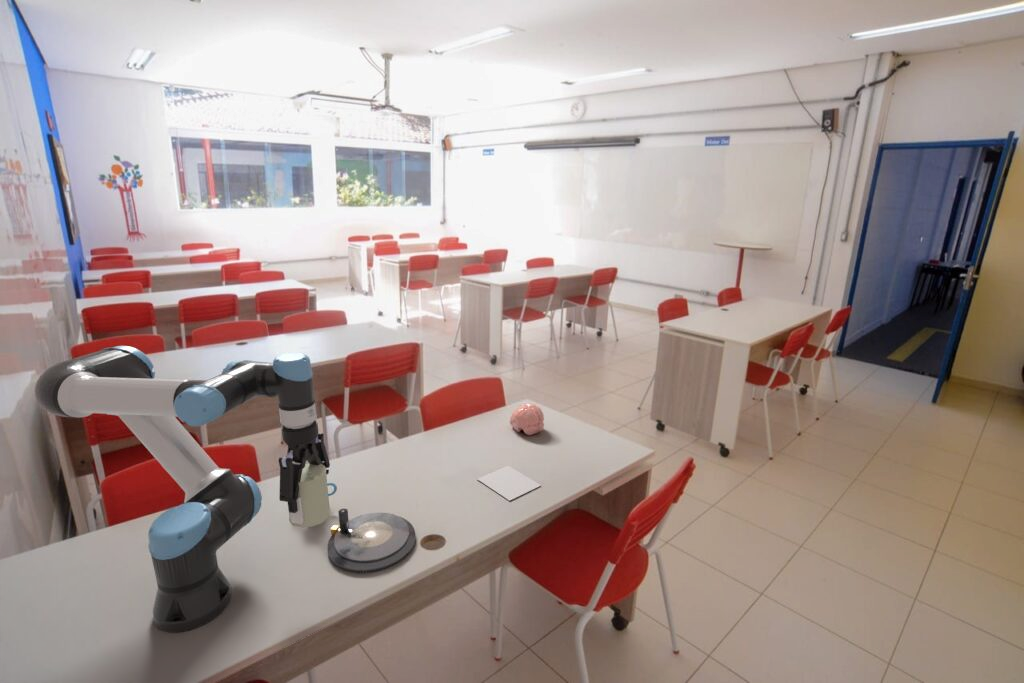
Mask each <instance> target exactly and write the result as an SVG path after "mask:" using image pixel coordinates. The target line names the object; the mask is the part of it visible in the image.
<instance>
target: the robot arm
mask: <svg viewBox="0 0 1024 683" xmlns="http://www.w3.org/2000/svg"><path fill="white" fill-rule="evenodd" d="M153 368H154V364H153V362H152V360H151V359H150V358H149V357H148V355H146V353H144V352H143V351H141V350H139V349H138V348H136V347H133V346H130V345H129V346H128V345H117V346H113V347H105V348H103V349H102V348H101V349H100V350H99V351H95V352H91V353H87V354H85V355H80V356H78V357H74V358H70V359H68V360H64V361H60V362H58V363H55V364H54V365H52V366H50V367H48V368H47V369H46V370H45V371H44V372H43V373H42V374H40V375H39V377H38V378H37V381H36V383H35V387H34V395H35V399H36V401H37V403H38V404H39V406H40V407H41V408H42V409H43V410H44V411H47V413H50V414H52V415H55V416H58V417H65V418H85V417H86V418H87V417H89V416H91V415H93V414H103V415H105V414H106V415H108V416H109V415H111V416H117V417H118V418H119V419H120V420H121V421H122V422H123V424H125V426H126V427H127V428H128V429H129V431H130V432H131V433H132V434H134V436H135V437H136V438H137V439H138V440H139V441H140V443H141V444H142V445H143V446H144V447H145V449H147V451H148V452H149V453H150V454H151V455H152V456H153V458H154V459H156V461H157V462H158V463H159V464H160V465H161V467H162V468H163V469H164V470H165V471H166V472H167V473H168V474H169V475H170V477H171V478H172V479H173V480H174V481H175V482H176V484H178V486H179V487H180V488H181V489H182V490H183V492H184V500H183V502H184V503H181V504H179V506H173V507H171V508H168V509H167V510H165V511H164V512H163V513H161V514H160V515H158V517H156V519H154V520H153V522H152V524H151V525H150V527H149V528H148V550H149V553H150V556H151V560H152V565H153V570H154V576H155V579H156V584H157V589H156V590H157V591H156V594H155V599H154V604H153V607H152V615H153V622H154V624H155V626H156V627H157V628H158V629H160V630H161V631H164V632H168V633H180V632H186V631H190V630H193V629H196V628H199V627H201V626H204V625H206V624H207V623H209V622H211V621H212V620H214V619H215V618H217V617H218V616H219V615H220V614H221V613H222V612H223V611H225V609H226V608H227V607H228V605H229V604H230V601H231V599H232V590H231V584H230V582H229V580H228V578H227V577H226V575H224V573H223V571H222V570H221V569H220V567H219V564H218V557H217V551H218V550H219V549H220V548H221V547H222V546H224V544H225V543H227V542H228V541H229V540H230V539H232V538H233V537H234V536H235V535H236V534H237V533H238V532H240V530H242V528H244V527H245V526H247V525H248V524H250V523H251V521H253V518H255V517H256V516H257V514H258V513H259V512H260V510H261V507H262V499H263V496H262V492H261V489H260V487H259V485H258V484H257V482H256V481H255V480H254V479H253V478H252V477H250V476H248V475H247V476H246V475H245V474H242V473H240V474H234V473H233V471H232V470H231V469H230V468H220V467H219V466H218V465H217V464H216V462H214V460H213V459H212V458H211V457H210V456H209V455H208V454H207V452H206V451H205V450H204V449H203V448H202V446H201V445H200V444H199V443H198V442H197V440H195V439H194V437H193V436H192V435H191V434H190V432H189V431H188V430H187V429H186V428H185V426H183V424H181V422H182V423H186V424H187V425H188V426H189V427H190V426H191V427H201V426H204V425H206V424H208V423H211V422H214V421H216V420H218V419H219V418H221V417H222V416H224V415H225V414H228V412H231V411H232V410H234V409H236V408H238V407H239V406H241V405H244V404H245V403H247V402H249V401H252V399H254V398H257V397H265V398H266V397H268V398H277V404H278V414H279V421H280V425H281V427H280V428H281V435H282V441H283V442H284V443H285V444H286V445H287V454H286V455H285V456H284V457H283V456H280V457H279V458H278V464H279V496H278V497H279V501H280V502H284V503H285V502H287V507H288V513H289V512H290V518H291V523H297V524H303V523H304V520H303V512H302V503H301V497H298V493H299V484H298V483H299V482H300V481H301V475H302V469H303V468H304V467H305V463H309V464H312V465H320V464H322V465H324V466H325V467H326V475H329V474H330V470H329V468H330V466H331V464H330V459H329V456H328V455H329V454H328V452H327V449H326V444H325V439H324V438H325V437H324V436H325V435H324V433H321V432H319V427H318V426H319V425H318V423H319V422H318V420H317V417H318V416H317V409H316V400H315V390H314V389H315V388H314V377H313V376H314V372H313V370H312V364H311V359H310V356H308V355H307V354H305V353H302V352H292V353H291V352H290V353H289V352H288V353H283V354H279V355H278V356H276V357H275V358H273V361H272V362H268V361H267V362H264V361H255V360H254V361H253V360H250V359H249V360H248V359H247V360H246V359H245V360H233V361H230V362H229V363H227V364H226V366H225V368H223V369H222V371H221V374H218V375H217V376H214V377H210V378H209V379H202V380H201V379H199V380H198V379H175V378H173V379H170V378H169V379H168V378H155V377H156V376H155V375H156V371H155V369H153ZM177 418H178V419H179V420H178V419H177ZM180 421H181V422H180ZM291 523H290V524H291Z"/></svg>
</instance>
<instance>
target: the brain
mask: <svg viewBox="0 0 1024 683" xmlns="http://www.w3.org/2000/svg"><path fill="white" fill-rule="evenodd" d="M544 420H545V415H544V412H543V411H542V408H541V407H539V406H537V405H536V404H533V403H525V404H522V405H518V406H517V407H516V408H515V409H513V411H512V413H511V415H510V417H509V423H510V426H511V427H513V429H514V430H515V431H516V432H517V433H520V432H522V430H523V433H524V434H525V435H527V436H532V435H534V434H537V433H540V432H541V431H543V430H544V426H545V423H544Z"/></svg>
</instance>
